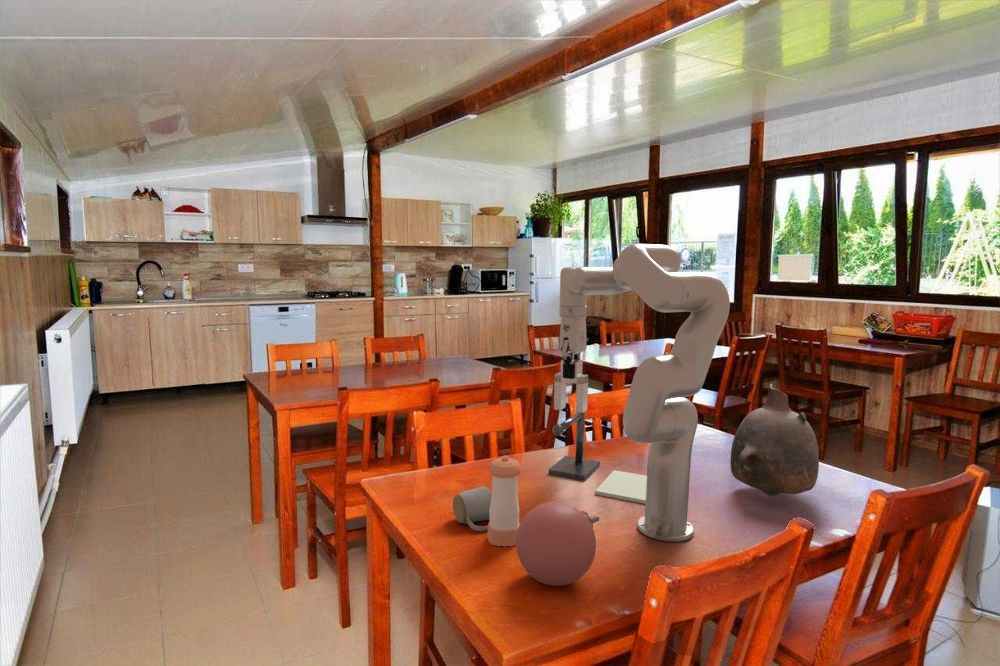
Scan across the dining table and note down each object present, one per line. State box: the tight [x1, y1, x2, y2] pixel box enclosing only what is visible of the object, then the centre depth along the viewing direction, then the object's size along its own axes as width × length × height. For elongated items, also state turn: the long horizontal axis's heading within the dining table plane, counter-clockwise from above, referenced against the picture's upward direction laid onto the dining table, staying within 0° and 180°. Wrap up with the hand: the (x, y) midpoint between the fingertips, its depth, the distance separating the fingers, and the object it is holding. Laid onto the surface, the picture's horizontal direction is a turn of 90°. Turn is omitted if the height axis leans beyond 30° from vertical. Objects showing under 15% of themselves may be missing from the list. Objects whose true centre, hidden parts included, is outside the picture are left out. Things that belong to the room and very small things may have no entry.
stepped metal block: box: [553, 359, 589, 413], centre depth 173 cm, size 4×8×14 cm, turn 64°
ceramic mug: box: [452, 486, 492, 532], centre depth 144 cm, size 11×8×8 cm
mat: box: [594, 469, 647, 505], centre depth 168 cm, size 18×18×1 cm
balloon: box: [515, 501, 600, 587], centre depth 120 cm, size 15×20×15 cm
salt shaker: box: [487, 455, 522, 547], centre depth 136 cm, size 7×7×19 cm
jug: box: [729, 383, 820, 497], centre depth 163 cm, size 24×21×30 cm
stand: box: [548, 411, 601, 482], centre depth 176 cm, size 24×11×18 cm, turn 154°
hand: (571, 376), depth 172 cm, fingers closed on stepped metal block, 4 cm apart
